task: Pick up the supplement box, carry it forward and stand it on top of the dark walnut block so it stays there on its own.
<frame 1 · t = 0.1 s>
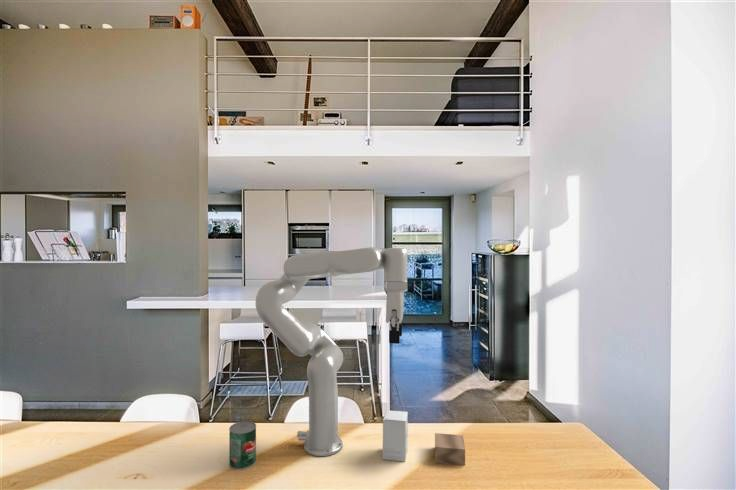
hand: (395, 339, 127), 37 cm above the table, tool pointing down, fingers open, 9 cm apart
supplement box: (395, 455, 126), on the table
walnut block: (449, 456, 125), on the table
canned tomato: (242, 463, 121), on the table
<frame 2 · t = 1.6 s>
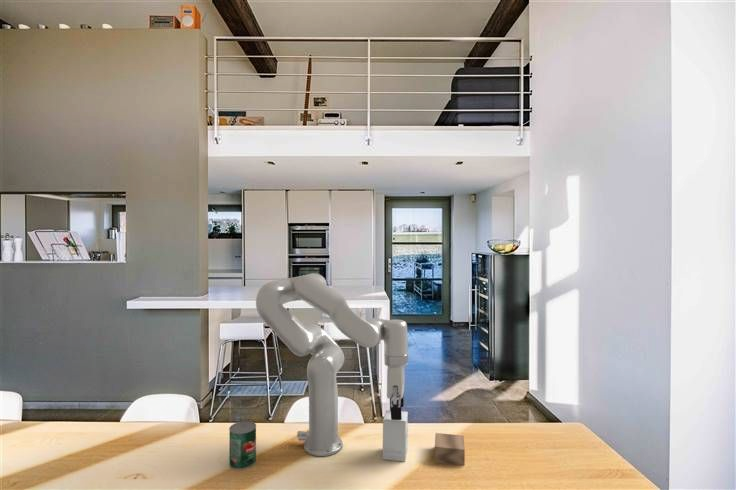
hand: (397, 412, 126), 13 cm above the table, tool pointing down, fingers open, 9 cm apart
nothing on the table moved.
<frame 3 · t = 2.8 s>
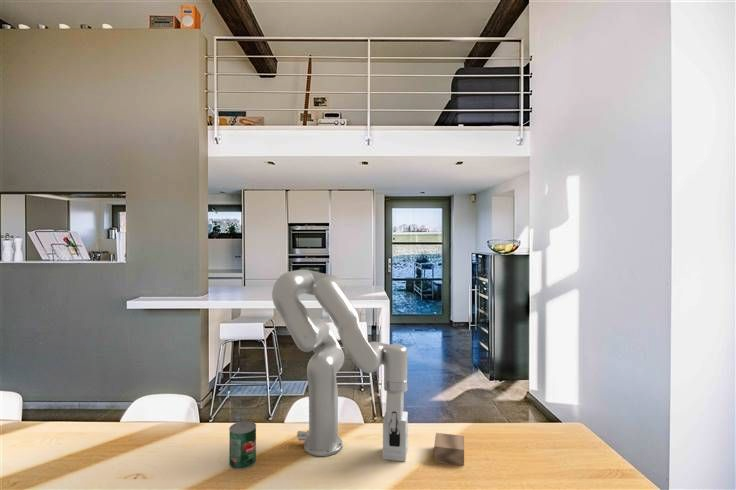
hand: (395, 439, 126), 5 cm above the table, tool pointing down, fingers closed on supplement box, 7 cm apart
supplement box: (395, 455, 126), on the table, touching gripper
everything else where it was.
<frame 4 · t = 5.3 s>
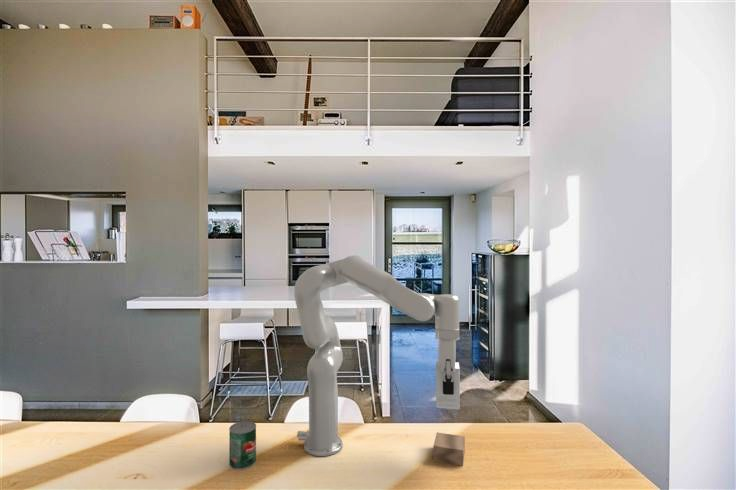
hand: (447, 389, 125), 21 cm above the table, tool pointing down, fingers closed on supplement box, 7 cm apart
supplement box: (447, 405, 125), point 16 cm above the table, touching gripper
everything else where it was.
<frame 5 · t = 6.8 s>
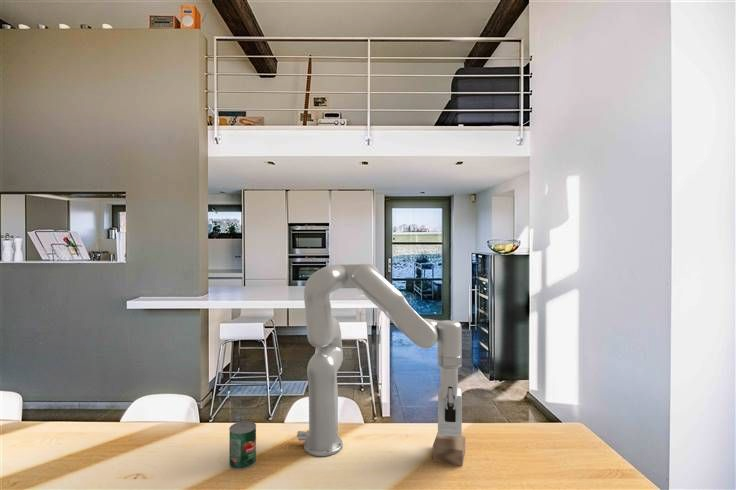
hand: (449, 415, 125), 13 cm above the table, tool pointing down, fingers closed on supplement box, 7 cm apart
supplement box: (449, 431, 125), point 8 cm above the table, touching gripper
everything else where it was.
when the fingers open (11 cm above the table, at t = 7.8 s): supplement box drops 1 cm, resting on walnut block.
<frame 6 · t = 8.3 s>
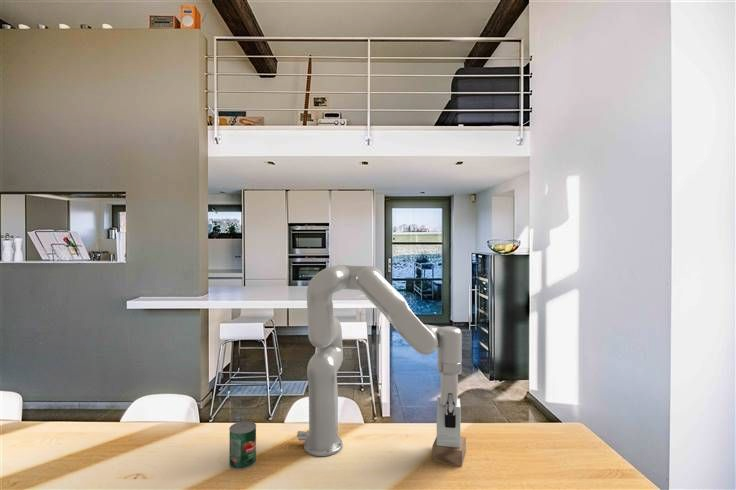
hand: (449, 420, 125), 11 cm above the table, tool pointing down, fingers open, 9 cm apart
supplement box: (448, 441, 125), point 4 cm above the table, touching walnut block
walnut block: (449, 457, 125), on the table, touching supplement box
everything else where it was.
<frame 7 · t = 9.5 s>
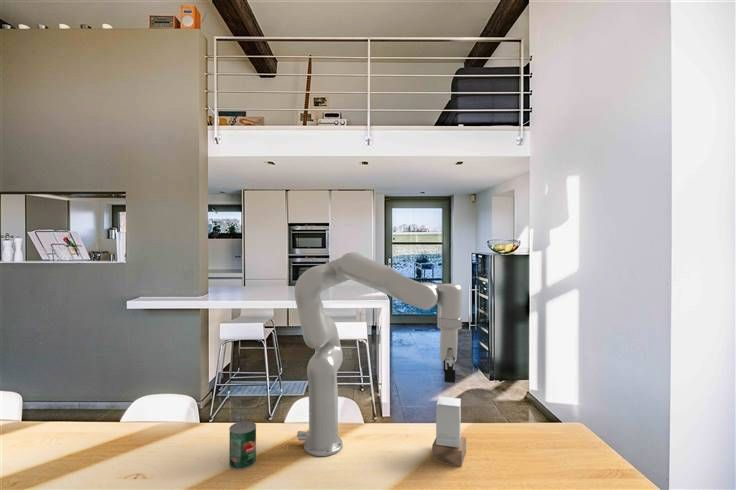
hand: (449, 376, 125), 25 cm above the table, tool pointing down, fingers open, 9 cm apart
supplement box: (448, 441, 125), point 5 cm above the table
walnut block: (449, 456, 125), on the table
everything else where it was.
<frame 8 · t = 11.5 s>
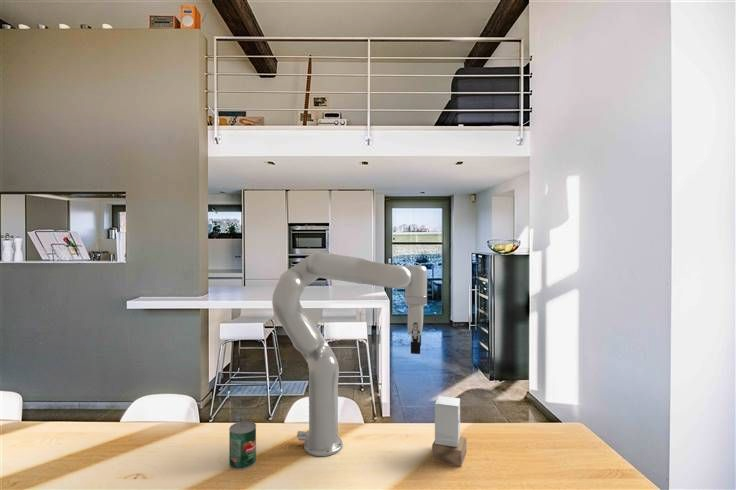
hand: (416, 349, 138), 30 cm above the table, tool pointing down, fingers open, 9 cm apart
nothing on the table moved.
at the end: supplement box inside the target area on the walnut block (0.6 cm from its centre), point 4.8 cm above the walnut block's base; supplement box tilted 1°; the gripper is holding nothing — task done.
